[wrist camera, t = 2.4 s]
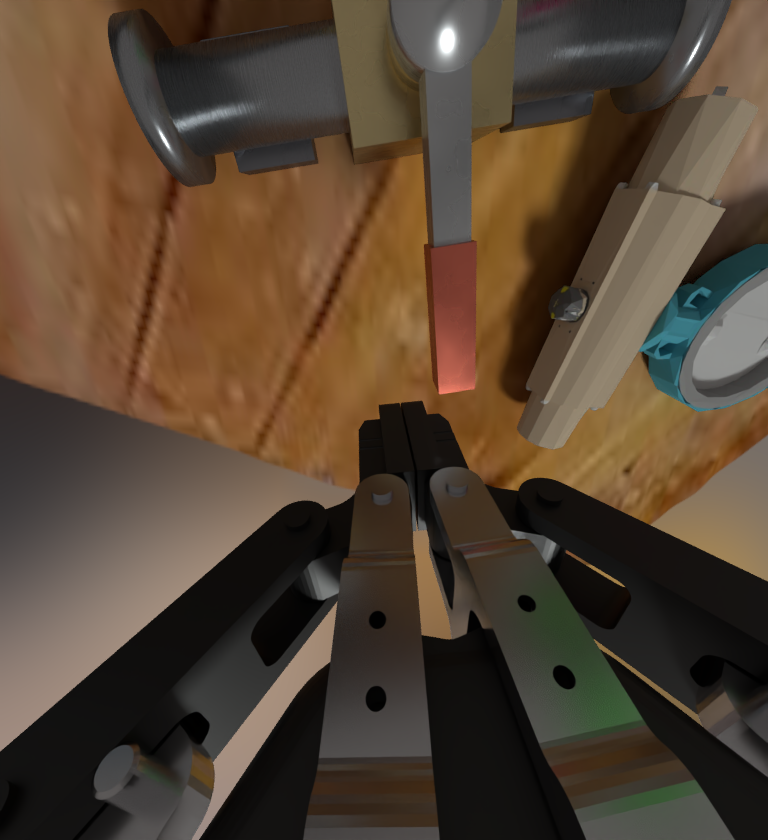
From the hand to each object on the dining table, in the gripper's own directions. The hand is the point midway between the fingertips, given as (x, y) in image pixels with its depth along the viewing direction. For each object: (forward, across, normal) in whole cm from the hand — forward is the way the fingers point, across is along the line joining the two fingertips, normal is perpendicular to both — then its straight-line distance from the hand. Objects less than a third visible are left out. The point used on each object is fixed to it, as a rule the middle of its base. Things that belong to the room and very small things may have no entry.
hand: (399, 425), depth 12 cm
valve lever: (+10, -4, -6) cm, 12 cm away
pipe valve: (+20, -3, -13) cm, 24 cm away
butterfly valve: (+21, -28, +5) cm, 35 cm away
